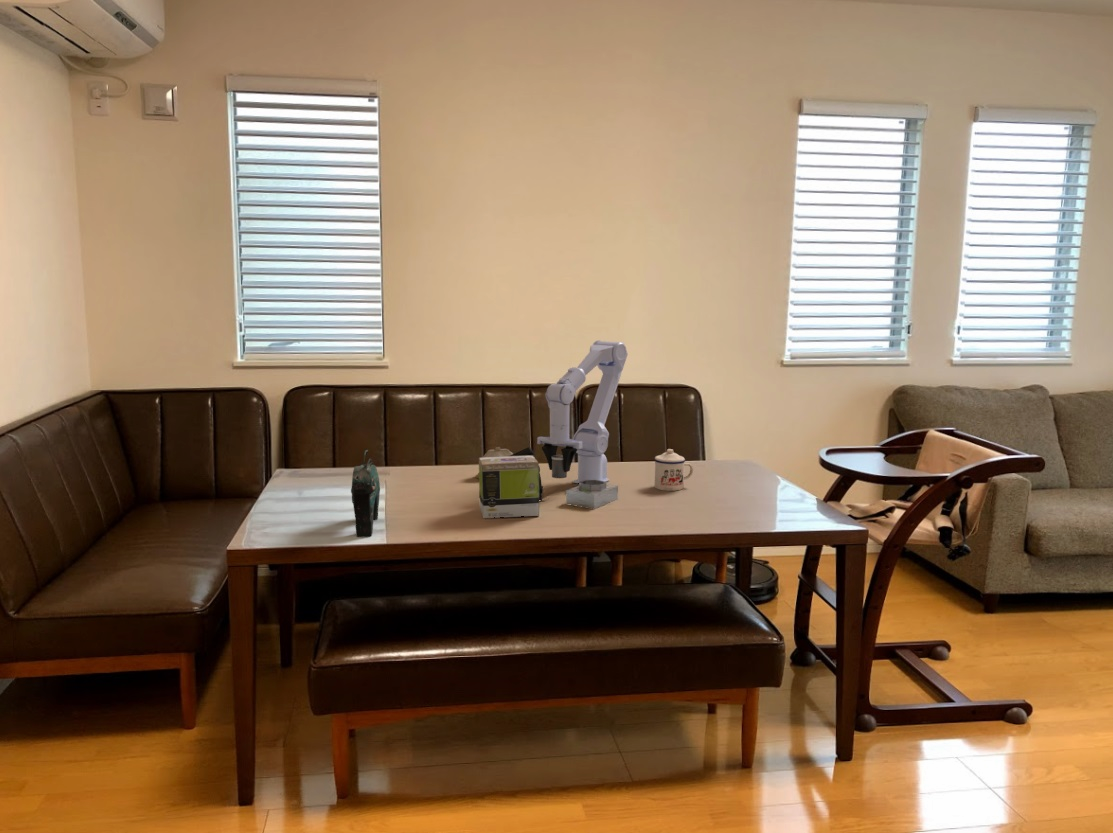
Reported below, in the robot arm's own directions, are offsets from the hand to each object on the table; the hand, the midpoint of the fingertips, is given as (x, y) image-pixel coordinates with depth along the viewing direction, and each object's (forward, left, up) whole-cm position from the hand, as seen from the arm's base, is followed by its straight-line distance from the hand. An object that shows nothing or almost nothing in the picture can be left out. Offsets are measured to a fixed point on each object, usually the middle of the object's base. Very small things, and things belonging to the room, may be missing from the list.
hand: (559, 470), depth 256 cm
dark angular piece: (+16, -3, -6) cm, 18 cm away
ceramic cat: (+60, -18, -6) cm, 63 cm away
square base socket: (+6, +15, -6) cm, 17 cm away
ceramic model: (-3, -25, -6) cm, 26 cm away
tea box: (+29, +3, -6) cm, 30 cm away
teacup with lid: (-23, +26, -6) cm, 35 cm away
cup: (0, 0, -2) cm, 2 cm away
